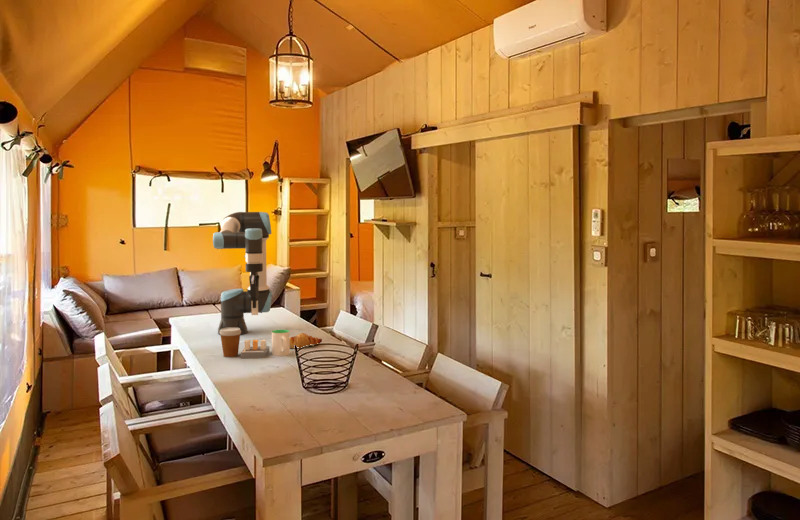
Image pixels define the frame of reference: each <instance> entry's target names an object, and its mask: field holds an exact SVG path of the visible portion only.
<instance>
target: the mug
mask: <svg viewBox="0 0 800 520" xmlns="http://www.w3.org/2000/svg"><path fill="white" fill-rule="evenodd" d="M290 335H291V334H290V329H289V330H288V329H274V330H272V331H271V356H277V357H282V356H283V357H284V356H288V355H290V353H291V352H290V351H291V350H290V349H291V348H290V337H291V336H290Z"/></svg>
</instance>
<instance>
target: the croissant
mask: <svg viewBox="0 0 800 520" xmlns="http://www.w3.org/2000/svg"><path fill="white" fill-rule="evenodd" d="M322 342H323V339H322V338H318V337H316V336H315V337H314V336H312V335H308V334H307V333H305V332H301V333H298V334H297V335H296V336H295V335H294V336H290V349H294V345H296V346H297V347H299V348H298V349H302V348H301V347H303V346H306V345H310V344H317V343H319V344H320V343H322Z"/></svg>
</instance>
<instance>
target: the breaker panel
mask: <svg viewBox="0 0 800 520" xmlns="http://www.w3.org/2000/svg"><path fill="white" fill-rule="evenodd" d="M269 353H270V346H267V345H266V349H265V350H261V345H260V346H259V345H258V349H257V350H253V346H250V350H245V347H243V350H242V351H241V352H240V359H267V358H268V356H269Z"/></svg>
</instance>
